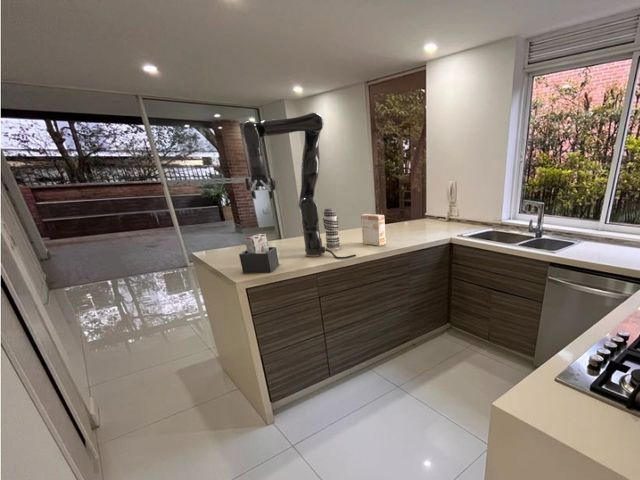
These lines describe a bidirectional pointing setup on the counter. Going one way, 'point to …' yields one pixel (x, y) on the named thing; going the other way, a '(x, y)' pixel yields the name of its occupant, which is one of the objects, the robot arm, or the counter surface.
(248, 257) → the bin
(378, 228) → the coffeecake box
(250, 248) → the candy bar box
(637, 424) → the counter surface
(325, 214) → the decorative candle
